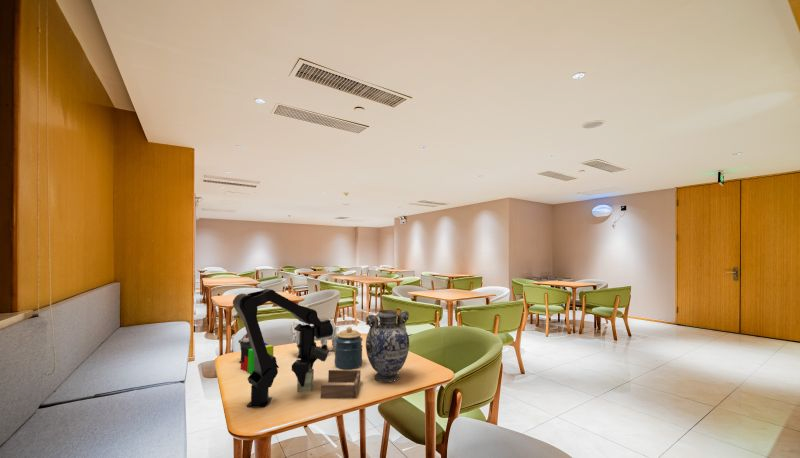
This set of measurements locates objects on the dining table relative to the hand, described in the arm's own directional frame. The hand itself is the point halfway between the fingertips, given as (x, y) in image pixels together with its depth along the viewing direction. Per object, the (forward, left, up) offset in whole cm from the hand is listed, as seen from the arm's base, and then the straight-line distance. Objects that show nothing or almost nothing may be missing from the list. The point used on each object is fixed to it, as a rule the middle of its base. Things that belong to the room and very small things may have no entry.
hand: (305, 381), depth 131 cm
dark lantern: (+32, +37, -3) cm, 49 cm away
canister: (+28, -13, -3) cm, 31 cm away
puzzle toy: (+23, +28, -3) cm, 36 cm away
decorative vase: (+12, -32, -3) cm, 34 cm away
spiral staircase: (+46, +6, -3) cm, 46 cm away
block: (0, 0, -3) cm, 3 cm away
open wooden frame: (0, -14, -3) cm, 14 cm away
